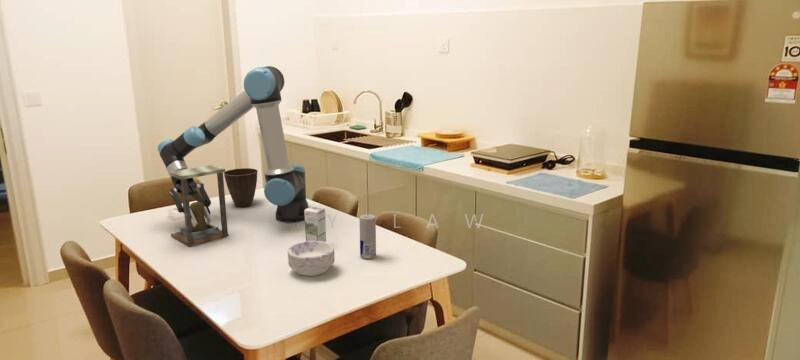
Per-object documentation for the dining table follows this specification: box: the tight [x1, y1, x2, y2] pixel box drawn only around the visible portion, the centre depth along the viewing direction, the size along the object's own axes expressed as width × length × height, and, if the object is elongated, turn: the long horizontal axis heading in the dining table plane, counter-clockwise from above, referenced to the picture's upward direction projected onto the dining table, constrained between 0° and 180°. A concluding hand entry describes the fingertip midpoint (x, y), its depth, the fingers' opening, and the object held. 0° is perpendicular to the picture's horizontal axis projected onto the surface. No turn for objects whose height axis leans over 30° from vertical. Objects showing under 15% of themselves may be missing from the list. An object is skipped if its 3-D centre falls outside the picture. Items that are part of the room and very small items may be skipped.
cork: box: [190, 201, 207, 232], centre depth 214 cm, size 6×6×11 cm
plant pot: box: [223, 167, 258, 208], centre depth 255 cm, size 15×15×16 cm
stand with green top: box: [170, 164, 230, 248], centre depth 212 cm, size 17×16×27 cm
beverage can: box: [359, 213, 377, 260], centre depth 193 cm, size 6×6×15 cm
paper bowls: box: [287, 240, 336, 277], centre depth 183 cm, size 15×15×8 cm
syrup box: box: [304, 205, 327, 242], centre depth 204 cm, size 6×6×14 cm
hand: (202, 223), depth 212 cm, fingers closed on cork, 5 cm apart
